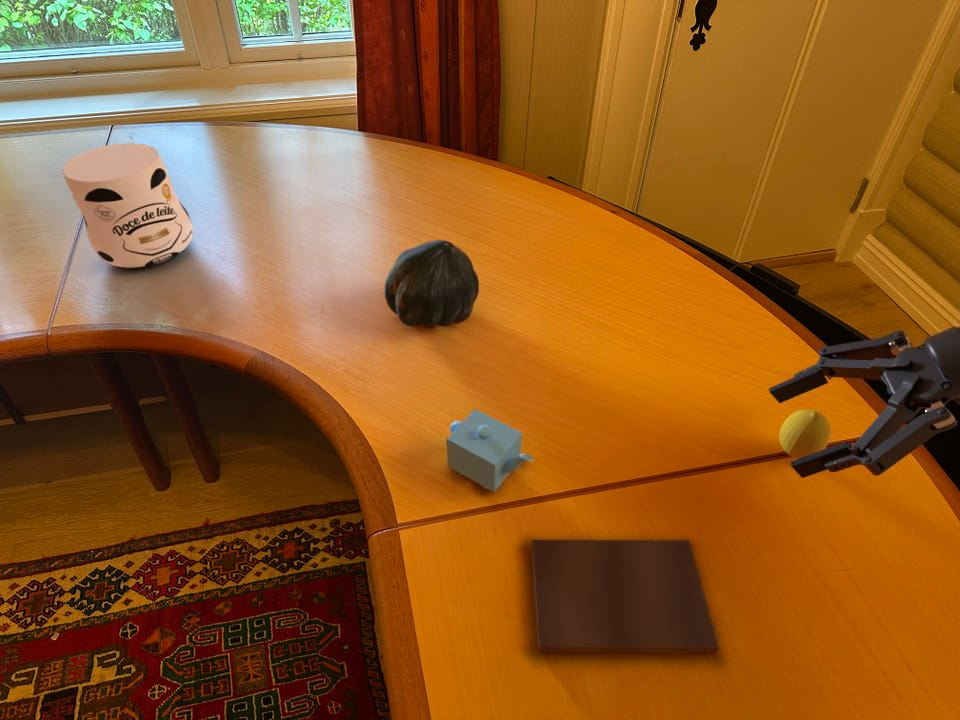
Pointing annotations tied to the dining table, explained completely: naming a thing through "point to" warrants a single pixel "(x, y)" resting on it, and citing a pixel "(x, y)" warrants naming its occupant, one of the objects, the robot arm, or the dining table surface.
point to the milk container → (128, 205)
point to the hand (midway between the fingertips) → (784, 430)
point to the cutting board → (619, 597)
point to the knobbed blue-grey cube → (484, 449)
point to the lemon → (804, 433)
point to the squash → (432, 285)
